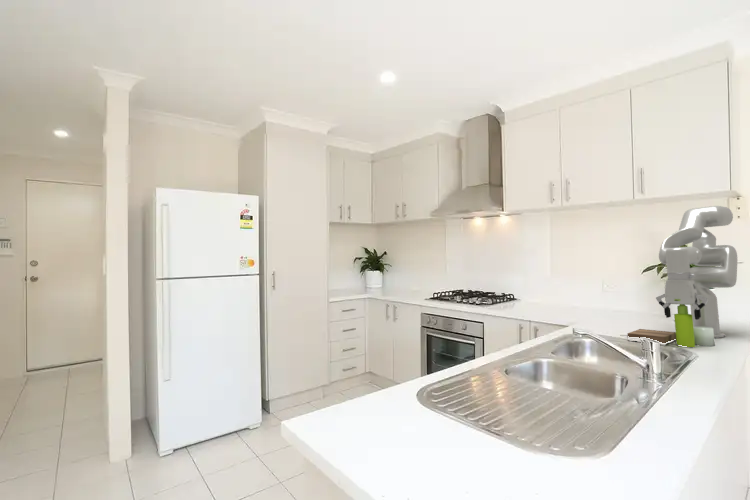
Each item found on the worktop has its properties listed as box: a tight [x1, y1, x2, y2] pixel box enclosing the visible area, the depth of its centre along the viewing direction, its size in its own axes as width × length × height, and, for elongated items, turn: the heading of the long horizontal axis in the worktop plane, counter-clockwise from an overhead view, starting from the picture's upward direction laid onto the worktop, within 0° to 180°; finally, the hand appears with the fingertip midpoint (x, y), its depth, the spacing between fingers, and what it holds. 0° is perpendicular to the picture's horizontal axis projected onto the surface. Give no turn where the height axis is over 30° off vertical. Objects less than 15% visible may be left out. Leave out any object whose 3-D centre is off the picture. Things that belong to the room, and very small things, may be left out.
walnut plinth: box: [627, 328, 676, 343], centre depth 169 cm, size 14×14×4 cm
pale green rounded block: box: [693, 326, 716, 347], centre depth 158 cm, size 7×7×7 cm
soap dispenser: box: [673, 299, 696, 348], centre depth 157 cm, size 6×7×20 cm
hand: (682, 318), depth 157 cm, fingers open, 9 cm apart
